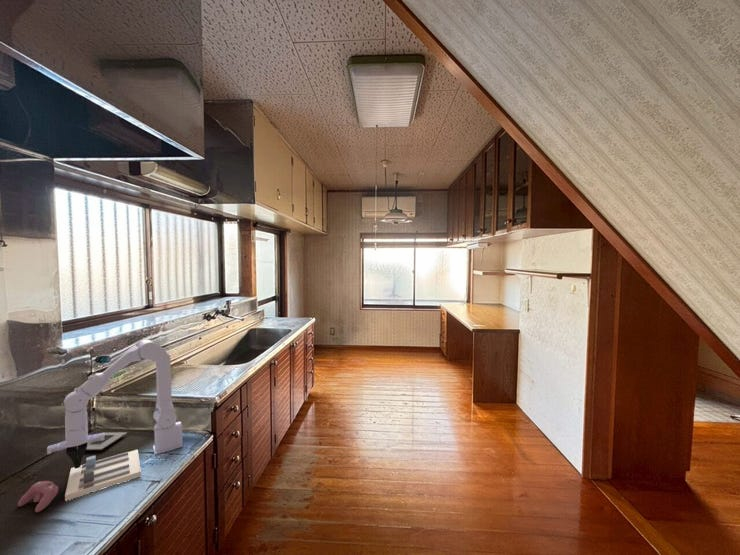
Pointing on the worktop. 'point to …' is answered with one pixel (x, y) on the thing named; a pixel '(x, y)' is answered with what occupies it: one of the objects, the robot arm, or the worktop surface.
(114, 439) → the electrical outlet
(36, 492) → the video game controller
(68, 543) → the worktop surface
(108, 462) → the switch panel
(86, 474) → the charcoal tab
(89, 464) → the slate tab
